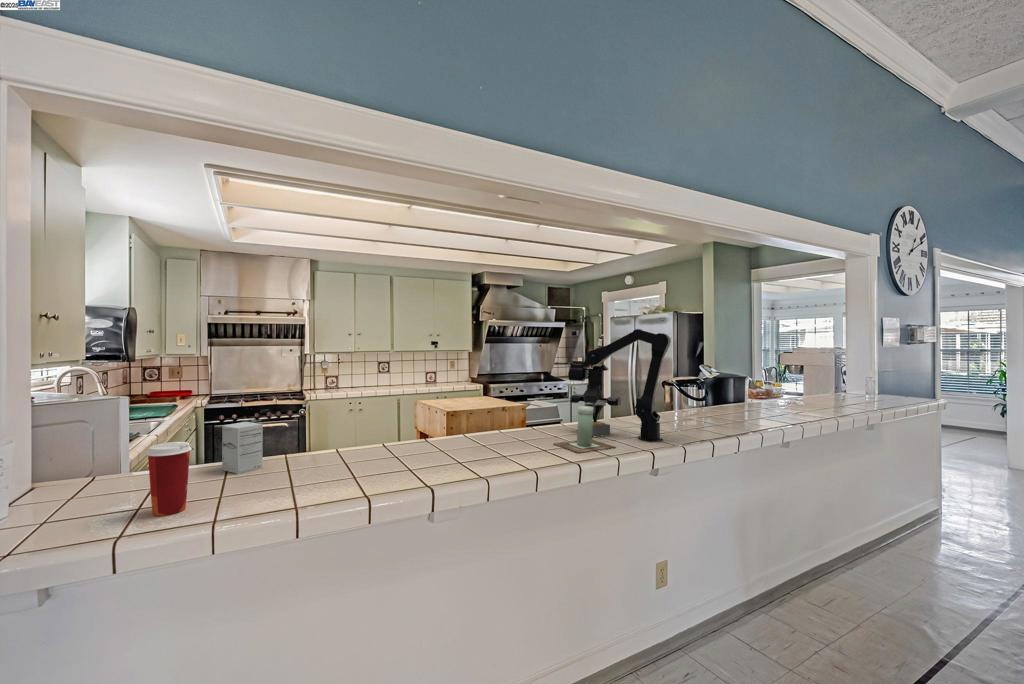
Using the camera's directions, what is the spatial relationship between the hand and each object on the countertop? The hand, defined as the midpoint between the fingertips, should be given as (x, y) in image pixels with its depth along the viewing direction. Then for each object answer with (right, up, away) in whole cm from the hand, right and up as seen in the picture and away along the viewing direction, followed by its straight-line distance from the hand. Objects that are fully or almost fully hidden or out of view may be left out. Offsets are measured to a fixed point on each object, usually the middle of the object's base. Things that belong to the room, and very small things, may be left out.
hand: (595, 422), depth 174 cm
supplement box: (-108, -5, -49) cm, 118 cm away
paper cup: (-105, -5, -79) cm, 132 cm away
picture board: (-7, -5, -20) cm, 22 cm away
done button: (0, -3, 0) cm, 3 cm away
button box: (0, -5, 0) cm, 5 cm away
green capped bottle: (-7, -4, -20) cm, 22 cm away
